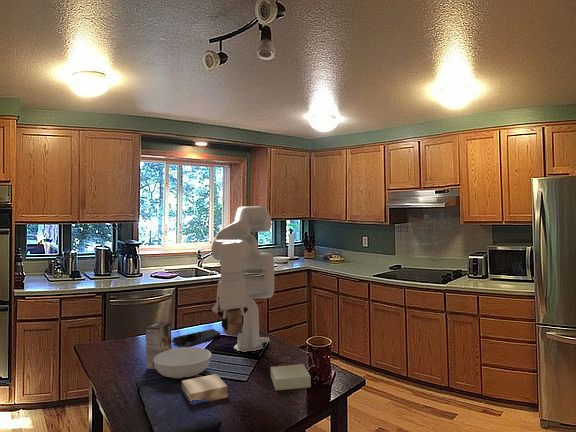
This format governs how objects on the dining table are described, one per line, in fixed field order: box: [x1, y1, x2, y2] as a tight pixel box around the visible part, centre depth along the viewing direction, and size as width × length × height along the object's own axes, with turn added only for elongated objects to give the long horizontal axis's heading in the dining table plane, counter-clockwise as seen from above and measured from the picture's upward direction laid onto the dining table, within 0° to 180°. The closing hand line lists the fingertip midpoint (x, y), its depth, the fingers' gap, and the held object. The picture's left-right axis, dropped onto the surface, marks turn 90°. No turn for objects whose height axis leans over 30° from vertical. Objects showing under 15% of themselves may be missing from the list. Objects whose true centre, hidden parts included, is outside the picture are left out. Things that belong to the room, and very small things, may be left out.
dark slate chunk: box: [171, 328, 221, 347], centre depth 199 cm, size 15×22×5 cm
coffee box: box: [144, 321, 173, 370], centre depth 165 cm, size 9×6×16 cm
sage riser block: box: [270, 363, 312, 391], centre depth 146 cm, size 12×12×4 cm
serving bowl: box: [153, 346, 212, 379], centre depth 155 cm, size 21×21×7 cm
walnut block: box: [223, 309, 242, 336], centre depth 148 cm, size 5×5×8 cm
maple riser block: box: [181, 373, 229, 402], centre depth 137 cm, size 12×12×4 cm
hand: (232, 327), depth 148 cm, fingers closed on walnut block, 5 cm apart
